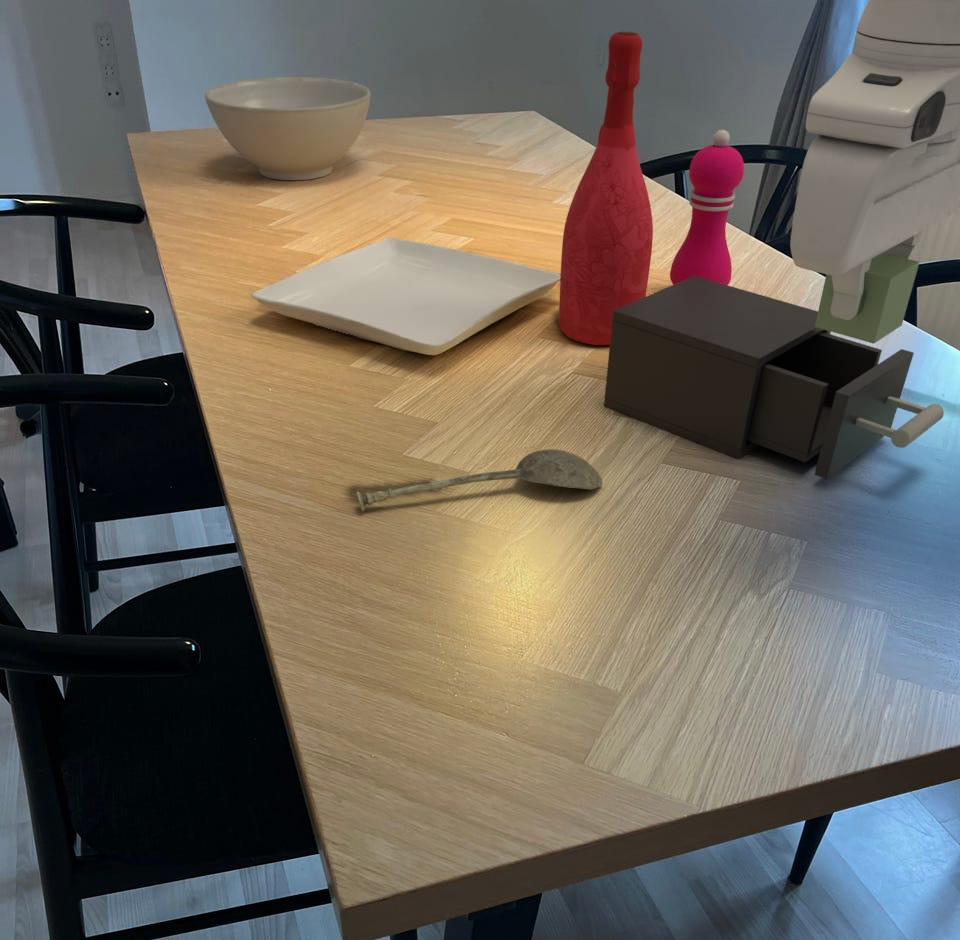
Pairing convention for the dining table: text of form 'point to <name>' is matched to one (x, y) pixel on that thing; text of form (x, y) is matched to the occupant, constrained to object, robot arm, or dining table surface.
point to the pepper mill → (709, 213)
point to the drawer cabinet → (699, 358)
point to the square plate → (408, 294)
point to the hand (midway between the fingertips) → (863, 304)
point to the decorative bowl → (290, 122)
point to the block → (873, 300)
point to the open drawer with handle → (834, 402)
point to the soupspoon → (515, 475)
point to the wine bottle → (608, 214)
